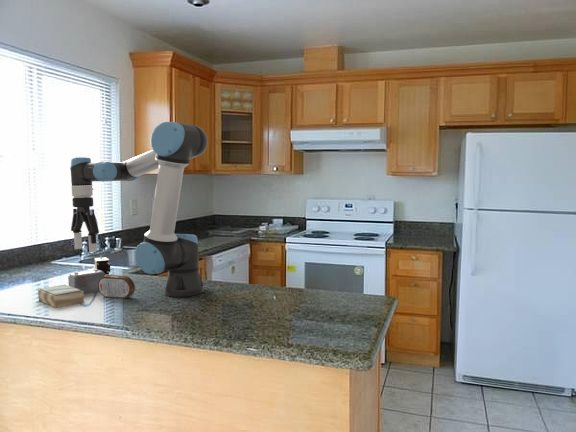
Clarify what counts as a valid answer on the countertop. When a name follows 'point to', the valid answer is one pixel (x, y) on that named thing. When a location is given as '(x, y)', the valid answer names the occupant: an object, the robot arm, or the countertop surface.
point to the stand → (60, 295)
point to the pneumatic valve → (102, 265)
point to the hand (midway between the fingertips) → (85, 250)
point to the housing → (86, 280)
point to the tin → (116, 286)
